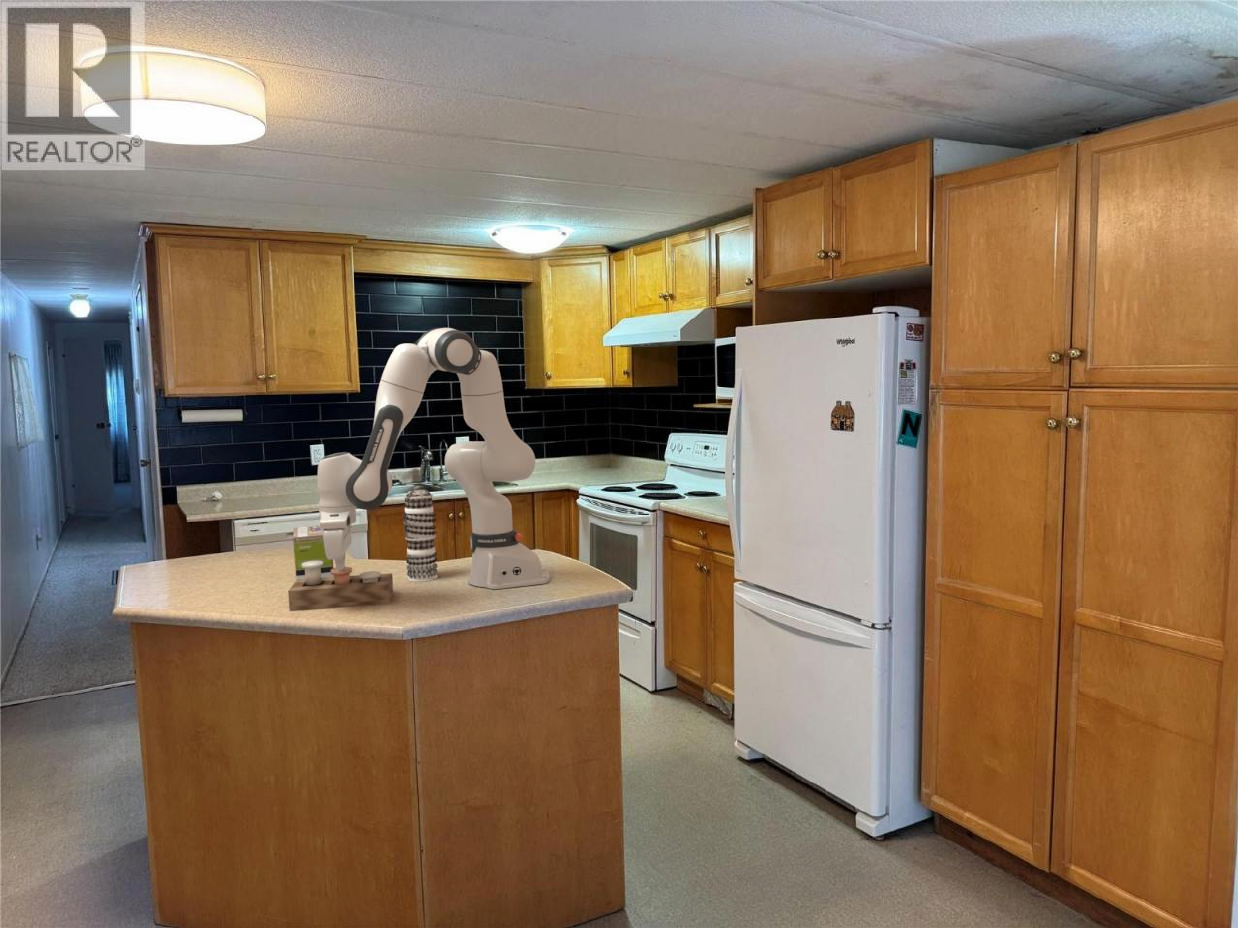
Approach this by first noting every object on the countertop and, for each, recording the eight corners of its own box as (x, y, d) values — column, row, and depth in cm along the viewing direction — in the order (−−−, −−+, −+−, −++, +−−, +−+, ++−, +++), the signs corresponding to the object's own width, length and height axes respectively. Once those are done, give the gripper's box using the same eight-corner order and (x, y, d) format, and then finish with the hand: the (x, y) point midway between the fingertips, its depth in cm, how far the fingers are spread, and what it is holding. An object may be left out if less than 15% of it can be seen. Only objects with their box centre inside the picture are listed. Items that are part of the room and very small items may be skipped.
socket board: (393, 591, 224) (392, 573, 223) (389, 603, 212) (388, 584, 211) (299, 597, 219) (297, 579, 219) (289, 610, 208) (288, 590, 207)
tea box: (296, 576, 242) (293, 526, 241) (333, 573, 246) (329, 523, 244) (296, 589, 228) (292, 536, 227) (334, 585, 232) (331, 532, 230)
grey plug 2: (382, 590, 220) (381, 570, 219) (380, 595, 215) (379, 575, 214) (361, 591, 219) (360, 572, 218) (359, 597, 214) (358, 576, 213)
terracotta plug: (354, 586, 218) (353, 566, 218) (351, 591, 213) (350, 570, 213) (333, 587, 217) (332, 567, 217) (330, 592, 212) (329, 572, 212)
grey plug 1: (325, 579, 217) (324, 559, 216) (322, 584, 212) (321, 564, 211) (304, 581, 216) (303, 561, 215) (301, 586, 211) (299, 565, 210)
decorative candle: (402, 582, 233) (397, 493, 230) (410, 574, 242) (405, 489, 239) (435, 581, 233) (430, 493, 230) (441, 573, 242) (437, 488, 239)
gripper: (331, 510, 222) (333, 561, 224) (318, 523, 202) (321, 579, 204) (355, 509, 223) (358, 560, 225) (345, 522, 203) (348, 577, 205)
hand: (340, 569), depth 214 cm, fingers closed
